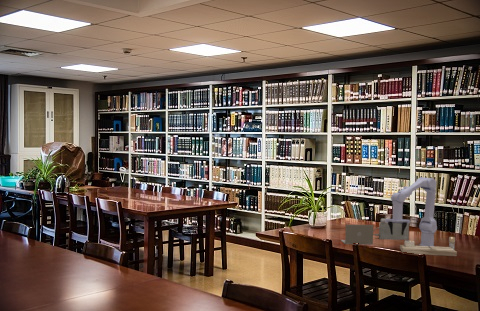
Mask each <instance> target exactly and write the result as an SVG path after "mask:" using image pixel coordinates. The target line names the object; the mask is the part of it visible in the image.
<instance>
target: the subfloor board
mask: <svg viewBox="0 0 480 311" xmlns="http://www.w3.org/2000/svg"><path fill="white" fill-rule="evenodd" d="M399 250H400V251H401V253H403V252H407V253H414V254H413V255H423V254H425V255H426V256H428V255H429V256H443V257H445V256H448V257H457V256H458V255H457V254H458V251H456V250H455V248H454V249H452V248H451V247H449V246H435V247H433V246H421V245H414V247H406V246H405V245H404V244H399Z"/></svg>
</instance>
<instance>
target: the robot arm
mask: <svg viewBox="0 0 480 311" xmlns="http://www.w3.org/2000/svg"><path fill="white" fill-rule="evenodd" d="M420 188H421V189H423V190H424V192H426V193H425V194H426V196H425V207H424V215H423V217H422V218H421V219H420V222H419V226H418V228H419V230H420V232H421V235H420V243H419V246H433V247H436V246H435V245H434V244H435V243H434V242H435V234H436V232H437V230H438V226H437V225H438V224H437V220H436V219H435V217H434V214H435V206H436V205H435V204H436V194H437V181H436V180H435V178H433V177H423V176H420V177H418V178H416V181H414V182H413V183H412V184H411V185H409V186H404V187H403V188H401V190H398V191H397V192H394V193H393V194H392V195H391V196H390V200H391V203H392V218H384V219H385V223H388V225H389V227H390V231H391V235H393V223H402V232H401V235H403V233H404V230H405V228H406V226H407V223H409V224H411V220H410V219H406V220H404V218H403V211H404V210H403V208H404V206H403V205H404V202H405V201H406V199H407V198H408V197H410V196H411V195H412V194H413V192H414V191H416V190H418V189H420ZM394 221H396V222H394Z"/></svg>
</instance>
